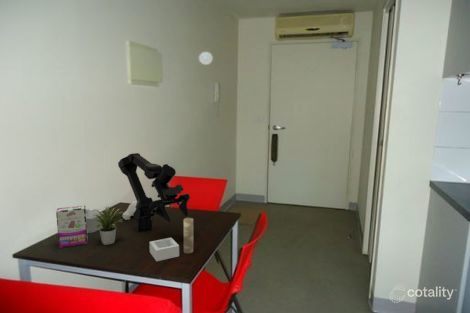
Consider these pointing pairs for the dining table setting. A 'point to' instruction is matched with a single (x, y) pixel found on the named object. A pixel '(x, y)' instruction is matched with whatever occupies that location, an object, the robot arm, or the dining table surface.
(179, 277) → the dining table surface
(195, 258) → the dining table surface
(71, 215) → the candy bar box
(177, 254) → the end cap
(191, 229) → the dowel
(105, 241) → the house plant
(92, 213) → the lumpy-topped squat cylinder
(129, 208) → the penguin figurine
